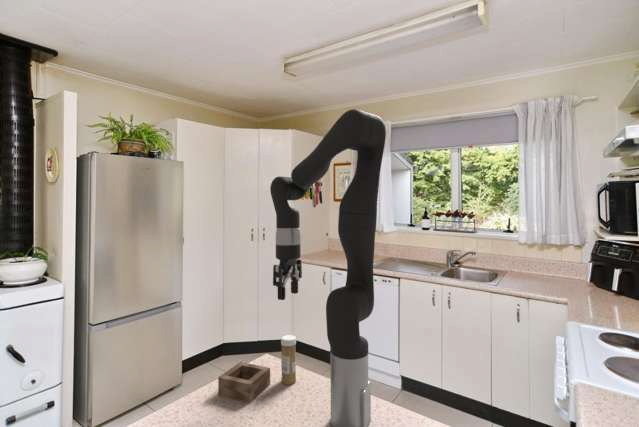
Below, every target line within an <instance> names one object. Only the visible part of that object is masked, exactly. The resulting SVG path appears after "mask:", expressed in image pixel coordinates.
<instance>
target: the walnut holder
mask: <svg viewBox="0 0 639 427" xmlns="http://www.w3.org/2000/svg"><path fill="white" fill-rule="evenodd" d="M217 381H218V384H217V386H218V396H221V397H225V398H229V399H232V400H236V401H241V402H244V403H249V404H250V403H252V402H253V401H254V400H255V399H256V398H257V397H258V396H260V394H261V393H264V391H265V390H266V389H267V388H268V387H270V385H271V367H268V366H262V365H258V364H254V363H248V362H243V361H240V362H238V363H237V364H235V365H234V366H233V367H231V368H230V369H228V370H227V371H226V372H224V373H222V374H221V375H219V376H218V380H217Z"/></svg>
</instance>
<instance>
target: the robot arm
mask: <svg viewBox="0 0 639 427" xmlns="http://www.w3.org/2000/svg"><path fill="white" fill-rule="evenodd" d="M386 129H387V128H386V124H385V121H384V120H383V118H381V117H380V116H378V115H376V114H374V113H370V112H366V111H363V110H360V109H354V108H353V109H349V110H347V111H345V112H344V113H342V115H341V116H340V117H339V118H338V119H337V120H336V121H335V122H334V124H333V125H332V126H331V127H330V129H329V130H328V131H327V133H326V134H325V135H324V137H323V138H322V139H321V141H320V142H319V143H318V144H317V146H316V147H314V150H312V152H310V154H309V155H307V156H306V157H305V158H304V159H303V160H302V161H300V162H299V163H298V164H297V165H296V166H295V167H294V168H293V169H292V171H291V173H290V177H289V176H276V177H274V178H273V180H272V182H271V183H270V188H269V189H270V196H271V200H272V204H273V208H274V212H275V216H276V220H275V221H276V225H275V226H276V227H275V230H276V231H275V258H276V259H277V260H279V263H278V264H273V266H272V267H273V271H272V273H273V274H272V285H273V287H276V288H277V300H280V301H284V300H285V299H286V285H287V282H288V281H289V280H291V281H290V293H291V294H295V295H297V294H298V293H299V281H300V279H302V278H303V271H302V270H303V269H302V268H303V267H302V259H300V258H301V257H302V256H301V253H302V252H301V247H302V246H301V245H302V244H301V230H300V224H301V223H300V219H301V218H300V211H299V210H298V208H297V209H296V208H293V207H291V206H290V204H289V201H298V200H299V201H300V200H301V199H303V198H304V197H305V196H306V194H307V193H308V191H309V190H310V188H311V186H313V185H315V184H316V183H317V182H318V181H320V180H321V179H322V178H323V177H324V176H325V175H326V174H327V172H328V171H329V168H330V167H331V162H332V160H333V159H334V158H335V157H336V156H337V155H338V154H340V153H343V151H344V152H345V151H346V150H352V151H356V154H357V159H356V165H355V166H356V167H355V172H354V174H353V175H354V176H353V178H352V179H351V182H350V183H349V185H348V187H347V189H346V190H345V192H344V194H343V196H342V198H341V200H340V203H339V207H338V208H339V209H338V220H337V221H338V223H337V232H338V238H339V240H340V244H341V247H342V250H343V253H344V255H345V258H346V259H345V260H346V265H347V266H346V269H347V270H346V279H345V285H344V286H340V287H338V288H335V289H333V290H332V291H331V292H329V294H328V295H327V299H326V302H325V303H326V305H325V316H326V317H325V318H326V319H325V320H326V321H325V322H326V334H327V335H326V336H327V339H328V343H329V347H330V423H331V426H332V427H368V426H369V424H370V422H371V420H372V418H371V417H372V415H371V414H372V406H371V404H372V399H371V397H372V396H371V395H372V392H371V391H372V390H371V389H372V388H371V387H372V385H371V384H372V382H371V381H370V380H369V342H368V340H367V339H366V337H364V336H362V335H361V334H360V322H363V321H365V320H366V319H368V318H369V317H370V315H371V314H372V312H373V310H374V306H375V287H374V286H375V285H374V282H375V281H374V261H375V260H374V259H375V244H376V242H375V241H376V232H377V231H376V230H377V219H378V199H379V197H378V196H379V187H380V177H381V168H382V163H383V157H384V150H385V145H386V138H387V137H386V136H387V130H386Z"/></svg>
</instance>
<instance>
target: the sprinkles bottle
mask: <svg viewBox="0 0 639 427" xmlns="http://www.w3.org/2000/svg"><path fill="white" fill-rule="evenodd" d="M280 344H281V359H280V360H281V361H280V362H281V366H280V367H281V383H282V384H284V385H287V386H290V385H293V384H295V383H296V381H297V377H296V376H297V373H296V372H297V361H296V358H297V356H296V344H297V337H296V336H295V335H292V334H291V335H290V334H289V335H287V334H286V335H283V336H282V337H280Z"/></svg>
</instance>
